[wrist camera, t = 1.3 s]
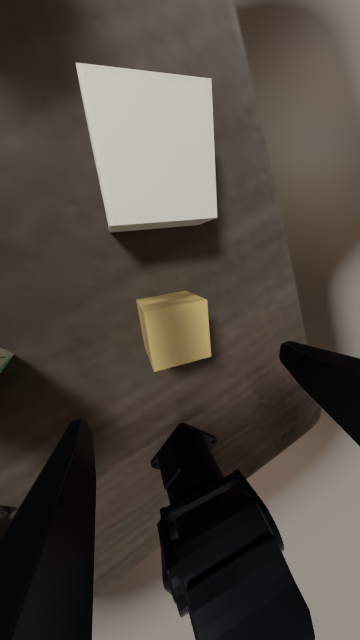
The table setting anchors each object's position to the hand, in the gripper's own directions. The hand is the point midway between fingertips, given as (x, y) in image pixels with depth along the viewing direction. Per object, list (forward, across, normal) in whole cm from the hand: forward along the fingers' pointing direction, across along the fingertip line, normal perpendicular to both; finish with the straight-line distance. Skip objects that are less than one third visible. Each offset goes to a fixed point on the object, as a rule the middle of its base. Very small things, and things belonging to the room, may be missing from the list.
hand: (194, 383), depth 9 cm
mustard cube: (+12, -2, +3) cm, 12 cm away
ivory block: (+14, -3, -9) cm, 17 cm away
